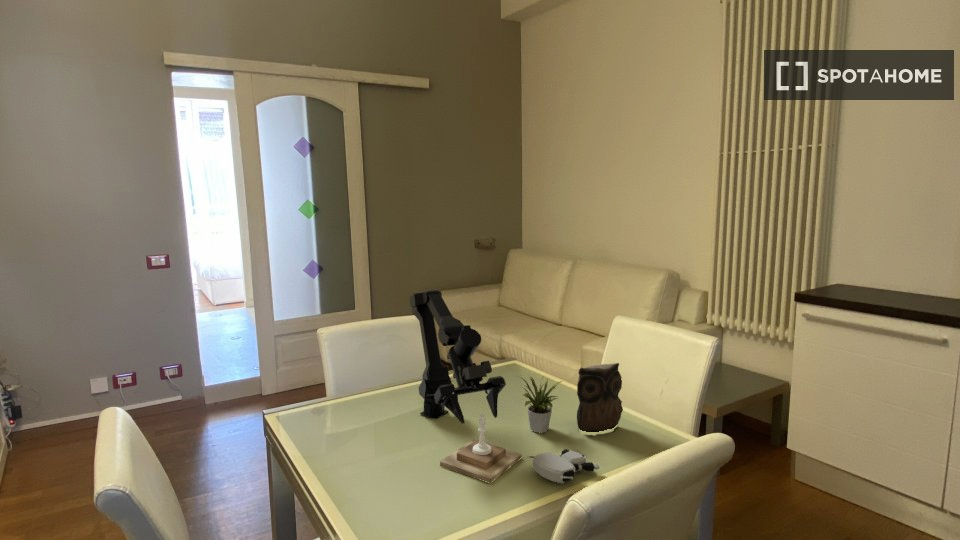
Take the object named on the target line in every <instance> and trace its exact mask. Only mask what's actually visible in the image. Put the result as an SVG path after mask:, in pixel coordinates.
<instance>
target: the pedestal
mask: <svg viewBox="0 0 960 540" xmlns="http://www.w3.org/2000/svg"><path fill="white" fill-rule="evenodd" d="M478 443H479V439H475V438H473V439H472V440H470V441H469V442H467V443H466V444H464V445H463V446H461V447H459V448H458V449H457V450H455V451H454V452H452V453H450V454H449V455H447V456H445V458H443V459H441V460H440V461H439V466H440V467H443V468H445V469H448V470H452V471H454V472H456V471H457V473H459V472H460V473H459V474H462V475H464V474H466V475H465V476H467V475H468V476H467V477H470V476H471V478H473V477H475V478H474V479H476V478H478V479H481V480H484V481H487V482H489V483H491V482H492V481H493V480H494V479H496V478H497V477H498V476H499V475H500V476H502V475H503V474H504V473H505V472H506V470H507V469H508V468H509V467H510V466H512V465H513V464H514V463H515V464H517V463H518V462H519V461H520V460H521V459H522V458H523V457H522V453H520V452H516V451H514V450H510V449H507V448H505V447H502V446H501V447H500V446H498V445H495V444H492V443H488V442H486V441H485V443H486V444H488V445H490V446H491V449H492V451H491V453H489V454H487V455H478V454H475V453H474V452H473V451H472V449H473V446H474V445H476V444H478ZM521 457H522V458H521ZM520 458H521V459H520ZM519 459H520V460H519ZM518 460H519V461H518ZM517 461H518V462H517ZM515 464H514V465H515ZM514 465H513V466H514ZM513 466H512V467H513ZM510 468H511V467H510ZM510 468H509V469H510ZM509 469H508V470H509ZM508 470H507V471H508ZM504 471H505V472H504ZM503 472H504V473H503ZM502 473H503V474H502ZM501 474H502V475H501ZM500 476H499V477H500ZM499 477H498V478H499ZM498 478H497V479H498ZM478 479H477V480H478ZM497 479H496V480H497ZM481 480H480V481H481ZM484 481H483V482H484ZM494 481H495V480H494ZM494 481H493V482H494ZM487 482H486V483H487ZM493 482H492V483H493ZM489 483H488V484H489ZM492 483H491V484H492Z"/></svg>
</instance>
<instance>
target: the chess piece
mask: <svg viewBox="0 0 960 540" xmlns="http://www.w3.org/2000/svg"><path fill="white" fill-rule="evenodd" d="M486 416H487V415H486V414H484V412H481V413H480V415H478V418H479V419H478V420H477V421H478V425H479V427H478V429H477V430H478V432H480V433H479V439H478V440H479V443H478V444H476V445H474V446H473V449H472V451H473V452H474V453H475V454H478V455H487V454H489V453H491V451H492V449H491V446H490V445H488V444H486V443H487V442H486V437H485V432H486V431H487V428H486V426H485V425H486V423H487V420H486V419H485V417H486ZM485 442H486V443H485Z"/></svg>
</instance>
